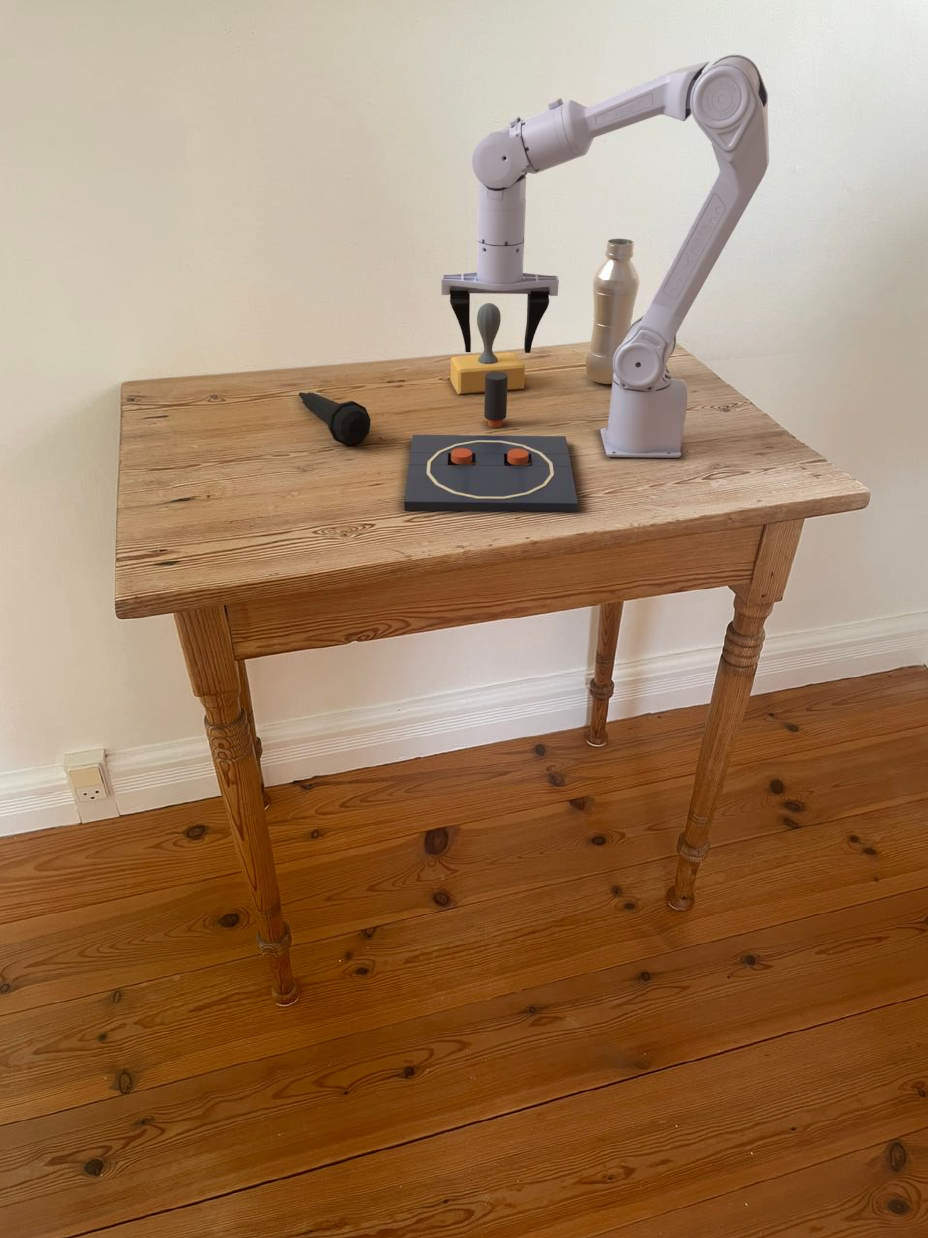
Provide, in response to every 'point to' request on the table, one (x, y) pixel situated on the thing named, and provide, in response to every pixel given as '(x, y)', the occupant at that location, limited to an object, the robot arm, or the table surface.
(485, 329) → the rubber stamp
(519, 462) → the eye
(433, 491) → the face board
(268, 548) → the table surface
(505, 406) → the marker
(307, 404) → the microphone
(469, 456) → the eye
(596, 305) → the plastic bottle
